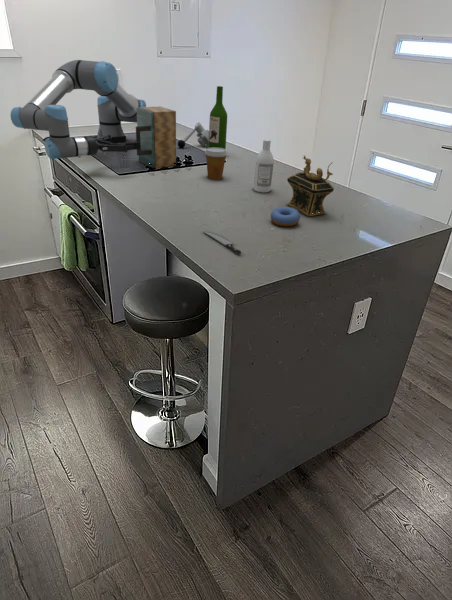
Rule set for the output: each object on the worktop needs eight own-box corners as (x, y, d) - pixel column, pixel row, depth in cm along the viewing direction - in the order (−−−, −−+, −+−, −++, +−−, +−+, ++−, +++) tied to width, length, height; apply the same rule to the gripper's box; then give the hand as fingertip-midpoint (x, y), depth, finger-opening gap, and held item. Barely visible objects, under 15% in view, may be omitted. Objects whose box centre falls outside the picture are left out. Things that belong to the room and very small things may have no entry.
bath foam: (273, 192, 177) (279, 141, 167) (258, 193, 175) (263, 142, 164) (265, 187, 183) (270, 137, 172) (250, 188, 180) (255, 138, 169)
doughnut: (279, 229, 143) (280, 216, 140) (264, 219, 150) (266, 206, 148) (304, 226, 146) (306, 213, 144) (289, 216, 154) (291, 204, 152)
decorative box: (282, 203, 165) (289, 150, 155) (302, 201, 169) (310, 149, 159) (314, 222, 151) (324, 164, 140) (336, 218, 155) (347, 162, 144)
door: (140, 169, 194) (137, 113, 181) (126, 162, 203) (123, 108, 191) (155, 168, 198) (153, 112, 185) (140, 161, 207) (138, 107, 195)
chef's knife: (211, 231, 138) (203, 232, 137) (211, 228, 138) (203, 229, 136) (247, 253, 125) (238, 255, 124) (247, 250, 125) (239, 251, 123)
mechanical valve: (218, 142, 240) (202, 120, 230) (197, 165, 239) (180, 145, 229) (209, 140, 248) (194, 119, 238) (189, 162, 247) (172, 142, 237)
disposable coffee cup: (229, 176, 193) (230, 149, 186) (219, 182, 185) (221, 153, 179) (210, 173, 196) (211, 146, 190) (200, 178, 188) (201, 149, 182)
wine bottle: (205, 155, 224) (207, 86, 207) (212, 152, 232) (215, 85, 215) (221, 158, 222) (224, 88, 205) (227, 154, 229) (231, 86, 212)
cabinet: (155, 168, 198) (153, 112, 185) (141, 161, 207) (138, 107, 195) (176, 165, 204) (175, 111, 191) (161, 159, 213) (160, 106, 201)
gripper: (75, 149, 187) (120, 145, 199) (98, 162, 171) (146, 157, 182) (73, 130, 183) (119, 127, 195) (96, 143, 167) (145, 139, 178)
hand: (132, 142), depth 188 cm, fingers open, 13 cm apart
